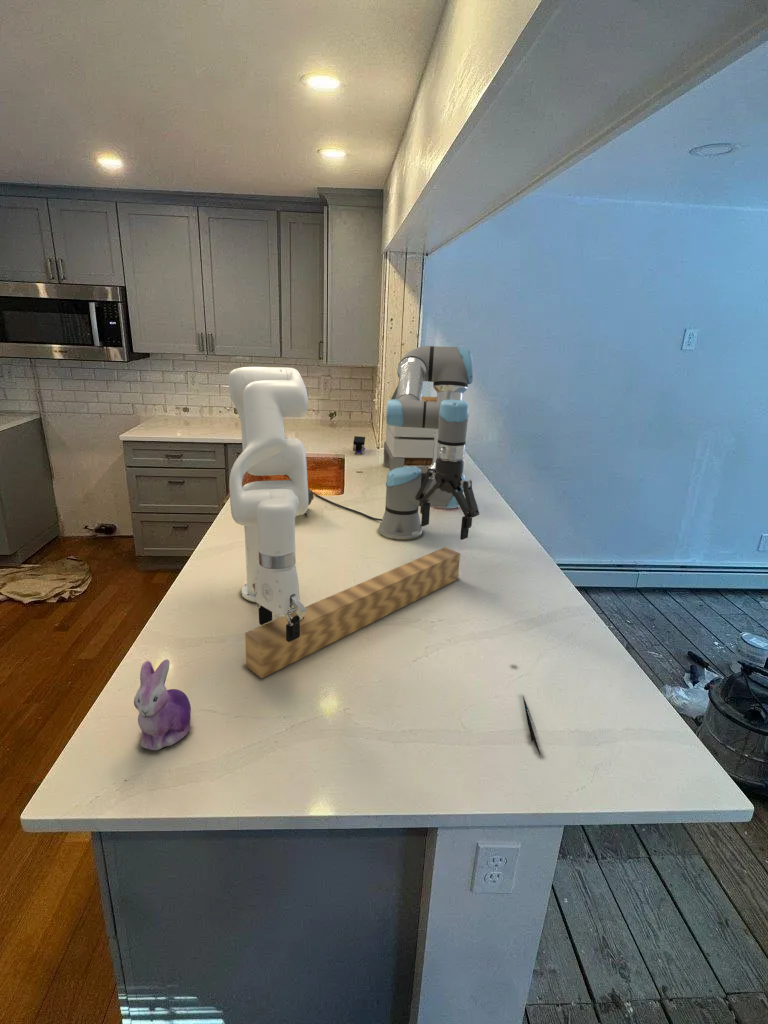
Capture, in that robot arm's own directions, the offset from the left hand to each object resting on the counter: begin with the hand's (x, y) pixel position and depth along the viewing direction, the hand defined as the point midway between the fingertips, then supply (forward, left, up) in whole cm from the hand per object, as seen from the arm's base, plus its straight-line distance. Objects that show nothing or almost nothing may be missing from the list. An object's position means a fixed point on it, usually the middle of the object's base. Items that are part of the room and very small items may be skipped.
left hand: (279, 630), depth 123 cm
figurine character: (-184, +65, -8) cm, 195 cm away
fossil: (-92, +17, -8) cm, 94 cm away
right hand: (-29, +50, +8) cm, 58 cm away
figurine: (+18, -23, -8) cm, 30 cm away
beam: (-15, +24, -8) cm, 29 cm away
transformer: (-140, +84, -8) cm, 163 cm away
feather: (+27, +46, -8) cm, 54 cm away
